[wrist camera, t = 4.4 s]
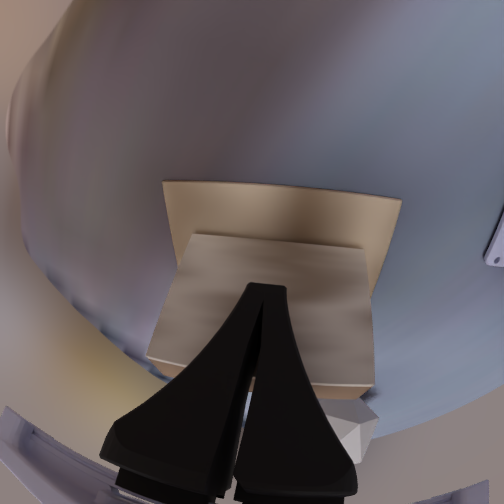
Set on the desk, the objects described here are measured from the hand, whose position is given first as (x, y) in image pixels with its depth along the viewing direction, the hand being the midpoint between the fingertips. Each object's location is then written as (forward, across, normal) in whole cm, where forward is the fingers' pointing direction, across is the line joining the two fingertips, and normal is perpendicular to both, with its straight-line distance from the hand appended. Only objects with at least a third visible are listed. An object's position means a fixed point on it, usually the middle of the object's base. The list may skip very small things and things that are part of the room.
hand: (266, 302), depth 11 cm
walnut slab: (+5, 0, +2) cm, 5 cm away
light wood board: (+5, 0, +6) cm, 8 cm away
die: (+5, -7, +20) cm, 22 cm away
